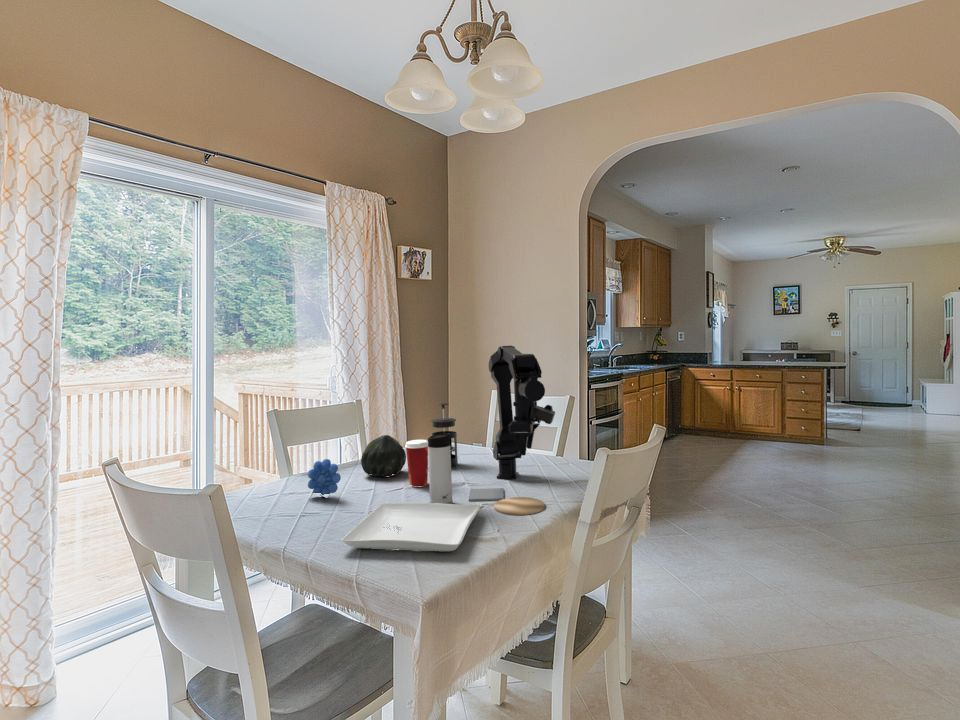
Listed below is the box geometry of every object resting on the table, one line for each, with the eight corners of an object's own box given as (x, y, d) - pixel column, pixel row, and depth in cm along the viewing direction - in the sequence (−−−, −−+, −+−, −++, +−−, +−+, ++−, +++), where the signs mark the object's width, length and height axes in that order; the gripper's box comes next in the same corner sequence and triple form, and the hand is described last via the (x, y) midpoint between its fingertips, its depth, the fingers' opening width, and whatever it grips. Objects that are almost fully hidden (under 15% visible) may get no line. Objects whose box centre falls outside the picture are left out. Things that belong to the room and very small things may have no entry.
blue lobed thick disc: (349, 495, 162) (347, 456, 161) (336, 502, 156) (334, 461, 155) (318, 492, 166) (316, 454, 165) (303, 499, 160) (301, 459, 159)
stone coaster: (470, 490, 162) (470, 488, 162) (503, 489, 161) (503, 488, 161) (468, 501, 152) (468, 499, 152) (503, 500, 151) (503, 498, 151)
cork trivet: (498, 497, 154) (498, 496, 154) (547, 499, 151) (547, 497, 151) (489, 514, 140) (489, 512, 140) (542, 516, 137) (542, 514, 137)
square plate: (460, 561, 113) (459, 543, 113) (339, 556, 118) (338, 538, 117) (482, 517, 139) (481, 502, 139) (382, 514, 144) (382, 500, 144)
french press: (439, 461, 200) (437, 401, 199) (462, 462, 197) (460, 401, 196) (426, 469, 189) (423, 405, 188) (450, 471, 186) (448, 405, 185)
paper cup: (435, 484, 170) (433, 440, 170) (417, 489, 165) (415, 445, 164) (419, 480, 176) (417, 438, 175) (401, 485, 170) (399, 442, 170)
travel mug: (450, 508, 146) (447, 436, 145) (427, 507, 148) (424, 435, 147) (456, 500, 152) (453, 431, 151) (433, 500, 154) (431, 431, 153)
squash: (367, 453, 194) (361, 428, 183) (408, 453, 194) (405, 427, 184) (362, 487, 184) (356, 462, 173) (405, 487, 184) (402, 462, 174)
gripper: (547, 401, 142) (549, 459, 142) (556, 394, 160) (558, 445, 160) (506, 401, 145) (509, 458, 145) (520, 394, 163) (522, 445, 163)
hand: (526, 451), depth 154 cm, fingers open, 9 cm apart
